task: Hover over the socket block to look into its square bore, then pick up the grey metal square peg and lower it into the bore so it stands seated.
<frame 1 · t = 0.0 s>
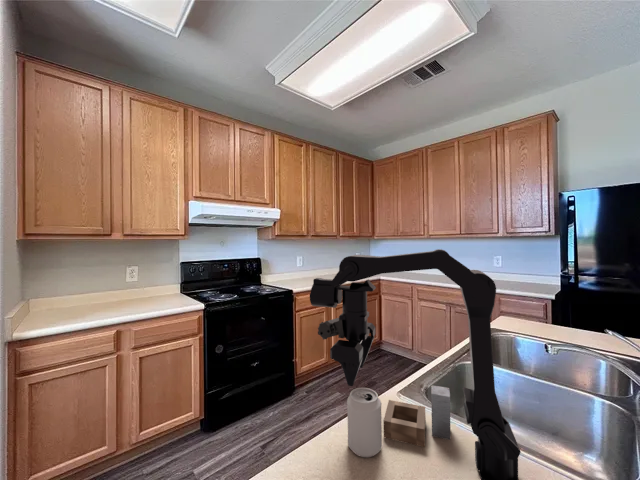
hand: (355, 375, 66), 15 cm above the table, tool pointing down, fingers open, 9 cm apart
can: (364, 448, 63), on the table
socket: (405, 429, 69), on the table
peg: (440, 432, 68), on the table
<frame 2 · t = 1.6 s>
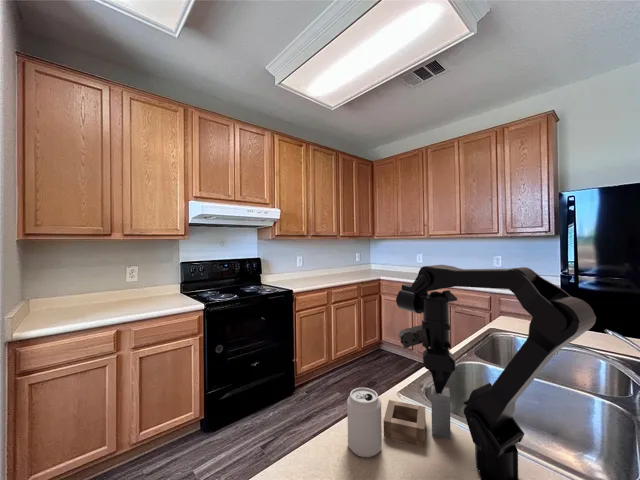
hand: (437, 383, 68), 12 cm above the table, tool pointing down, fingers open, 9 cm apart
nothing on the table moved.
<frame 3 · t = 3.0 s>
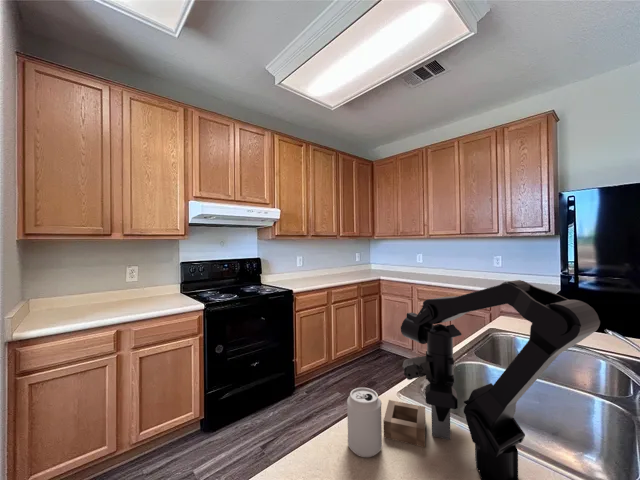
hand: (440, 415, 68), 4 cm above the table, tool pointing down, fingers closed on peg, 4 cm apart
peg: (440, 432, 68), on the table, touching gripper
everything else where it was.
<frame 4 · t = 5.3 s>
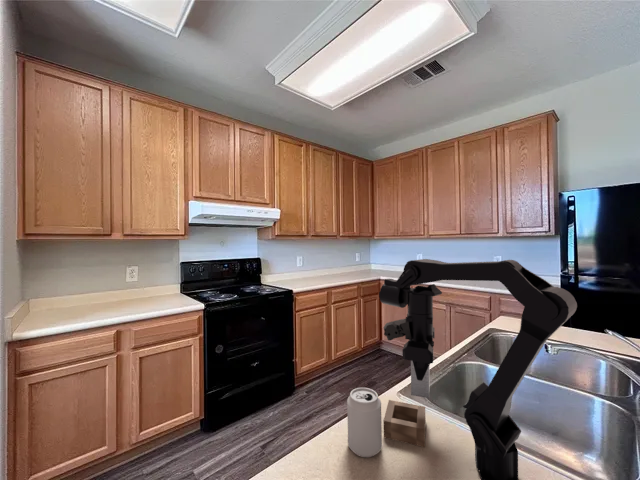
hand: (420, 375, 69), 13 cm above the table, tool pointing down, fingers closed on peg, 4 cm apart
peg: (420, 392, 69), point 9 cm above the table, touching gripper
everything else where it was.
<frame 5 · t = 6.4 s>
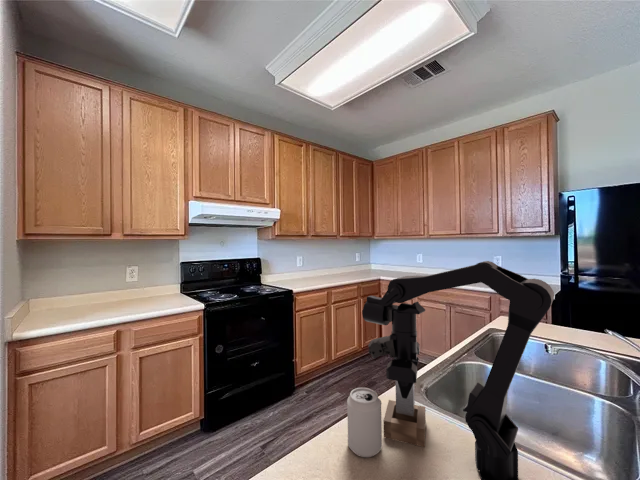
hand: (405, 393, 69), 9 cm above the table, tool pointing down, fingers closed on peg, 4 cm apart
peg: (405, 409, 69), point 5 cm above the table, touching gripper
everything else where it was.
when the fingers open (5 cm above the table, at t = 7.4 s): peg stays where it is, resting in socket.
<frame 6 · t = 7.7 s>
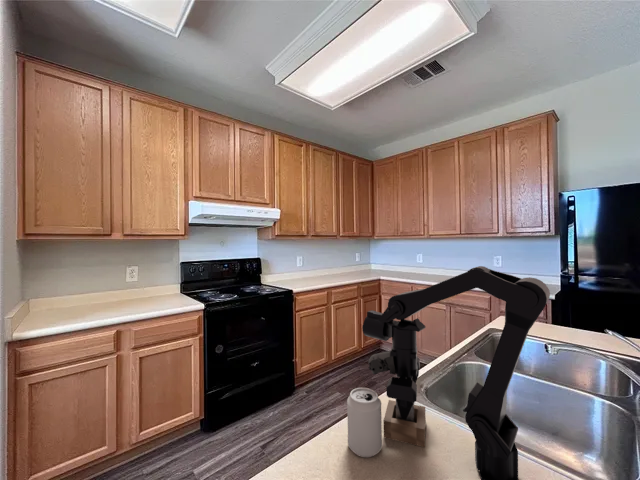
hand: (405, 409, 69), 5 cm above the table, tool pointing down, fingers open, 7 cm apart
peg: (405, 429, 69), resting in socket
everything else where it was.
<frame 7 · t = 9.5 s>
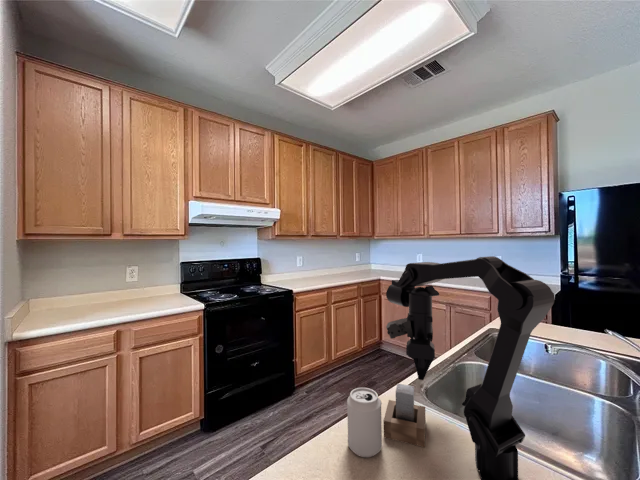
hand: (421, 371, 73), 12 cm above the table, tool pointing down, fingers open, 9 cm apart
nothing on the table moved.
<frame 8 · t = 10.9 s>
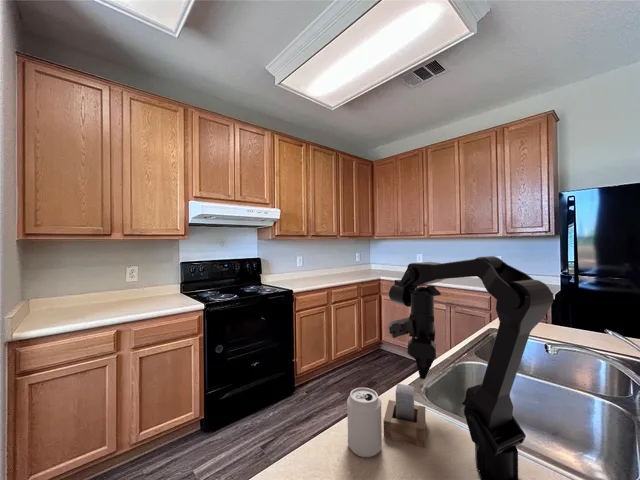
hand: (423, 370, 74), 12 cm above the table, tool pointing down, fingers open, 9 cm apart
nothing on the table moved.
at the end: peg 0.0 cm off-centre on the socket, point 0.0 cm above the socket's base; peg tilted 0°; the gripper is holding nothing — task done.
